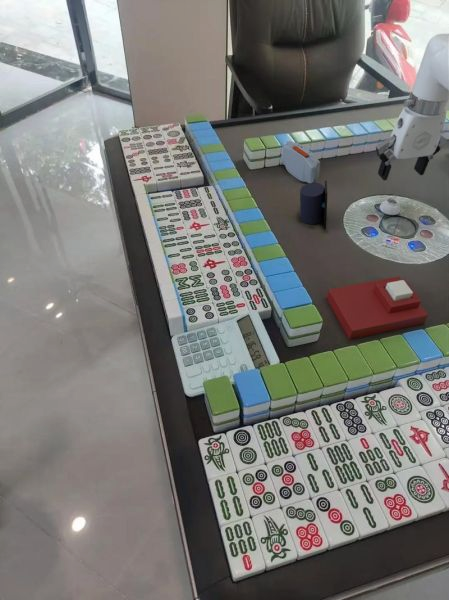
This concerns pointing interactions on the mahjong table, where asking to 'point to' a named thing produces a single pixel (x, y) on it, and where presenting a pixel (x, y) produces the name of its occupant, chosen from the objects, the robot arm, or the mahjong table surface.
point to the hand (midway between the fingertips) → (400, 174)
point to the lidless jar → (390, 206)
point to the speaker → (313, 203)
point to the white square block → (398, 290)
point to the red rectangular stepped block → (374, 308)
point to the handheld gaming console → (300, 162)
